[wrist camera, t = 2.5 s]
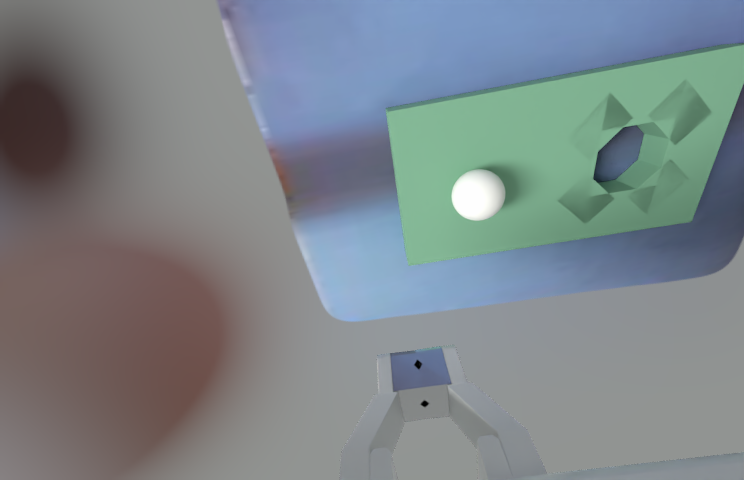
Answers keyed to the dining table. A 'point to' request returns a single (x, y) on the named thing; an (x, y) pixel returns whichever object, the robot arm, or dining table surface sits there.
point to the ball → (478, 194)
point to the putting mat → (564, 153)
